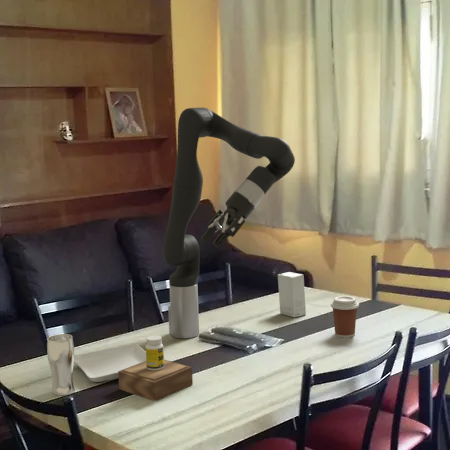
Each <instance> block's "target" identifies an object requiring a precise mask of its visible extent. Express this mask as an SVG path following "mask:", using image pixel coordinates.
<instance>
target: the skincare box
mask: <svg viewBox="0 0 450 450" xmlns="http://www.w3.org/2000/svg"><path fill="white" fill-rule="evenodd" d="M277 282H278V297H279V300H278V301H279V314H281V315H284V316H288V317H292V318H298V317H303V316H306V315H307V314H306V313H307V310H306V307H307V306H306V296H305V295H306V293H305V292H306V291H305V278H304V274H302V273H296V272H291V271H288V272H287V271H286V272H283V273H279V274H277Z"/></svg>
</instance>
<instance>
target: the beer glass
mask: <svg viewBox="0 0 450 450" xmlns="http://www.w3.org/2000/svg"><path fill="white" fill-rule="evenodd" d="M46 341H47V343H46V348H47V349H46V350H47V351H46V352H47V353H46V354H47V361H48V365H49V369H50V372H51V374H50V375H51V378H52V379H51V380H52V386H51V394H52V395H53V396H56V397H62V396H69V395H71V394H73V393H74V392H76V388H75V383H74V379H73V378H74V377H73V375H74V365H75V364H74V356H75V346H74V340H73V335H71V334H66V333H61V334H60V333H59V334H53V335H50V336H49V337H48V338H47V339H46Z"/></svg>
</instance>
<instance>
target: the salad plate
mask: <svg viewBox="0 0 450 450" xmlns="http://www.w3.org/2000/svg"><path fill="white" fill-rule="evenodd" d="M144 361H146V349H145V350H144V348H142V347H141V346H140V345H138V344H137V343H132V344H125V345H120V346H115V347H111V348H105V349H100V350H95V351H91V352H86V353H81V354H74V365H75V366H77V367H78V368H79V369H80V370H82V372H83V374H85V376H86V377H87V378H88V379H89V380H90V381H92V382H93V383H101V382H107V381H112V380H117V379H118V380H119V378H118V371H121V370H123V369H126V368H129V367H131V366H134V365H136V364H139V363H142V362H144Z"/></svg>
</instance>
